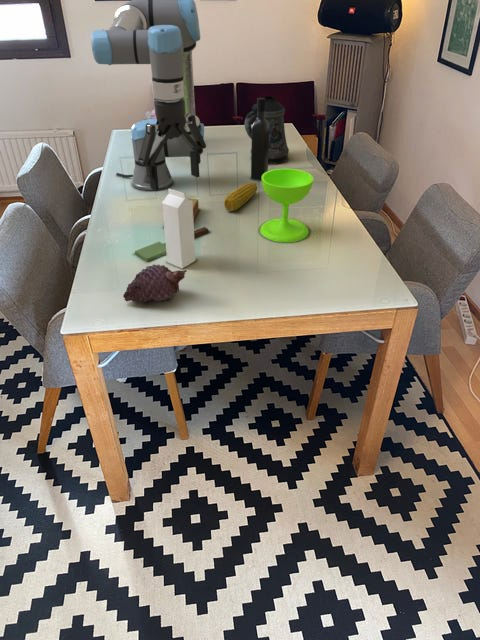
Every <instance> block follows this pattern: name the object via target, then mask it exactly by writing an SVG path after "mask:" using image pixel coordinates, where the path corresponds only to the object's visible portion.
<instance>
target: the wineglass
mask: <svg viewBox="0 0 480 640" xmlns="http://www.w3.org/2000/svg"><path fill="white" fill-rule="evenodd" d="M261 179H262V180H261V186H262V188H263V191H264V193H265V194H266V195H267V196H268V197H269V199H271V200H272V201H273V202H276V203H278V204H280V205H282V212H281V215H282V216H281V218H273V219H270V220H268V221H266V222H264V223H263V224H262V225H261V226H260V228H259V233H260V235H261V236H262V237H263V238H264V239H267V240H269V241H271V242H272V241H273V242H275V243H276V242H277V243H296V242H299V241H302V240H304V239H306V238H307V237H308V236H309V234H310V231H309V228H308V226H307V225H306V224H304V222H302V221H299V220H297V219H293V218H289V209H290V208H289V207H290V205H294V204H296V203H298V202H300V201H302V200H304V198H306V196H308V195H309V193H310V191H311V190H312V187H313V183H314V176H313V175H312V174H311V173H309V172H308V171H306V170H301V169H296V168H286V167H285V168H274V169H271V170H268V171H267V172H265V173H264V174H263V175H262V177H261Z"/></svg>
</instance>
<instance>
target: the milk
mask: <svg viewBox="0 0 480 640" xmlns="http://www.w3.org/2000/svg"><path fill="white" fill-rule="evenodd" d="M167 192H168V193H167V195H166V196H165V198H164V199H163V200H162V202H161V209H162V218H163V228H164V240H165V243H166V252H167V254H166V262H167V263H168V264H170V265H173V266H175V267H177V268H180V269H185V268H186V267H187V266H189V265H191V264H193V263H194V262H196V242H195V238H194V231H195V224H194V222H195V221H194V219H193V204H192V201H191V200H188V199H185V198H186V194H185V193H184V192H183V191H178V190H176V189H173V188H168V191H167Z"/></svg>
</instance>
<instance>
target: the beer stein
mask: <svg viewBox="0 0 480 640" xmlns="http://www.w3.org/2000/svg"><path fill="white" fill-rule="evenodd" d="M263 98H265V116H264V118H265V120H266V121H267V122H268V124H269V148H268V165H279V164H282V163H283V164H284V163H286V161H287V160H288V156H289V153H290V150H289V146H288V143H287V138H286V137H287V136H286V130H285V119H284V115H285V113H286V109H285V107H284V106H283V105H282V104H281V103H280V102H279V101H277V98H276V97H275V96H265V97H263ZM256 119H257V103H255V104H253V105H252V107H251V111H249V112H248V113H246V116H245V119H244V129H245V132H246V134H247V136H248V137H249V139H250V140H252V124H253V123H252V122H254V121H253V120H256Z"/></svg>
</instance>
